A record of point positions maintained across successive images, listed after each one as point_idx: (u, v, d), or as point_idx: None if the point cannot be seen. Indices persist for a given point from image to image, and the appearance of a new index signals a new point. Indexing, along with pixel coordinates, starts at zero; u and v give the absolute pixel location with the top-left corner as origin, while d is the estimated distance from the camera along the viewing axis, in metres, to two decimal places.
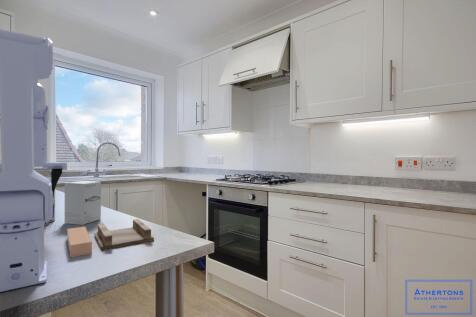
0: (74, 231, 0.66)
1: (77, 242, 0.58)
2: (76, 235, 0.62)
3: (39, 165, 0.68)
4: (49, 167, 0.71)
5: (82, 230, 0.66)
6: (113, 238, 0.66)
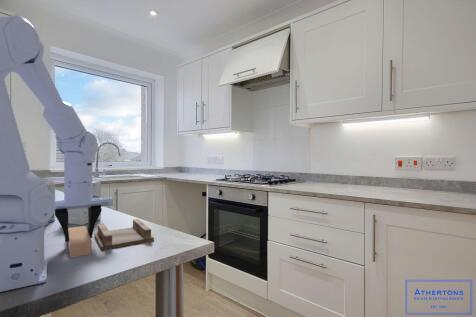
0: (74, 230, 0.66)
1: (77, 241, 0.58)
2: (76, 235, 0.62)
3: (86, 203, 0.61)
4: (94, 204, 0.65)
5: (82, 229, 0.66)
6: (113, 238, 0.66)
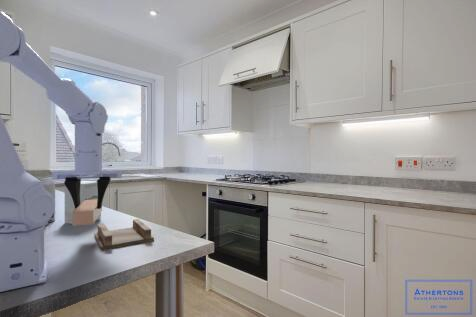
0: (88, 202, 0.67)
1: (80, 210, 0.59)
2: (86, 205, 0.64)
3: (92, 173, 0.62)
4: (104, 175, 0.65)
5: (96, 201, 0.68)
6: (113, 238, 0.66)
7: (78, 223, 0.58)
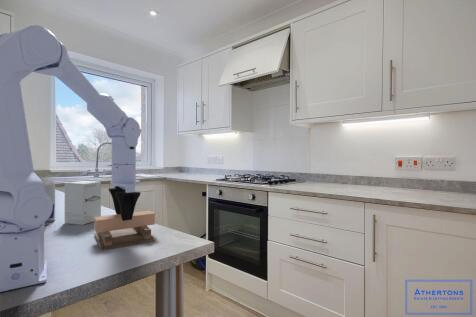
0: (138, 213, 0.71)
1: (99, 217, 0.66)
2: None
3: (113, 184, 0.66)
4: None
5: (139, 214, 0.70)
6: (113, 238, 0.66)
7: (94, 228, 0.66)
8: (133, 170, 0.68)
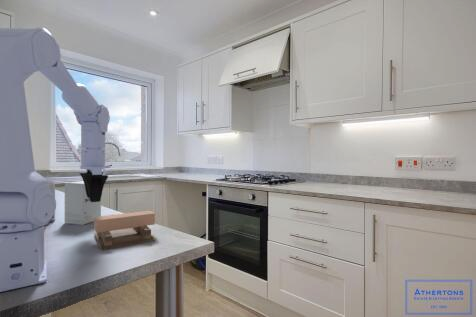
0: (138, 213, 0.71)
1: (99, 217, 0.66)
2: (122, 215, 0.69)
3: (82, 167, 0.69)
4: None
5: (139, 214, 0.70)
6: (113, 238, 0.66)
7: (94, 228, 0.66)
8: (102, 154, 0.71)
